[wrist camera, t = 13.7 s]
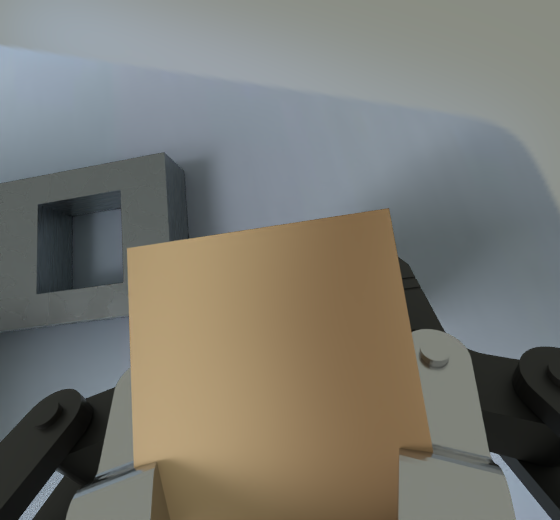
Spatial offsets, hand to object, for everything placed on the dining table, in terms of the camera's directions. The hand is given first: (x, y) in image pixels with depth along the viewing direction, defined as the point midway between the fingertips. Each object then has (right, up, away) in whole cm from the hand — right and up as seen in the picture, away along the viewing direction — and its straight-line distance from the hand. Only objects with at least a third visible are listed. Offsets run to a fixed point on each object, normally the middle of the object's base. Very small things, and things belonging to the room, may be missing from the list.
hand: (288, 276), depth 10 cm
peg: (+1, -2, +4) cm, 5 cm away
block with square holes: (-16, +1, +10) cm, 19 cm away
